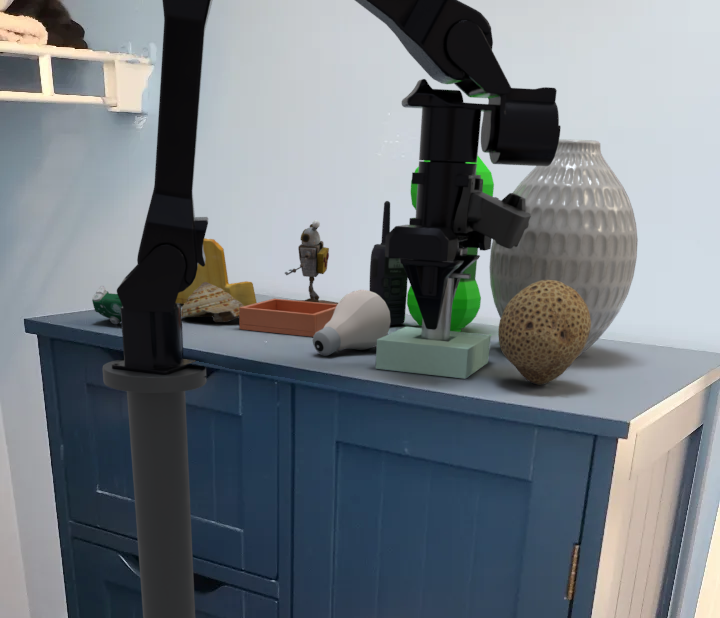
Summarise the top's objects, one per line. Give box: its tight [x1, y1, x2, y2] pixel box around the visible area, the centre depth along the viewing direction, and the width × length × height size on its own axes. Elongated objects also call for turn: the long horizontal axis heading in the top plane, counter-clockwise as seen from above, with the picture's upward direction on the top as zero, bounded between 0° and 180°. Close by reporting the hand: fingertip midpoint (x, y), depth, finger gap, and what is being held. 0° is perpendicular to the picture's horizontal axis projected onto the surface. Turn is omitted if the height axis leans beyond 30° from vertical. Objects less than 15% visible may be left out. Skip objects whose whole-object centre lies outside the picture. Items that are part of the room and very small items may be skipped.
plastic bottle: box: [406, 155, 495, 332], centre depth 118 cm, size 10×11×25 cm
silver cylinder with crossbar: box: [421, 273, 471, 342], centre depth 100 cm, size 3×6×10 cm, turn 69°
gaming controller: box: [91, 285, 122, 325], centre depth 118 cm, size 9×4×6 cm
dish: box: [238, 298, 337, 338], centre depth 121 cm, size 10×10×3 cm
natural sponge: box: [497, 280, 591, 386], centre depth 93 cm, size 9×9×10 cm
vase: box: [488, 138, 639, 357], centre depth 107 cm, size 16×16×22 cm
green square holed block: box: [375, 326, 492, 380], centre depth 102 cm, size 10×10×3 cm
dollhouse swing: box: [175, 237, 258, 306], centre depth 134 cm, size 10×10×9 cm
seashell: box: [181, 282, 244, 323], centre depth 123 cm, size 8×6×8 cm
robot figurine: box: [284, 219, 339, 304], centre depth 131 cm, size 11×9×12 cm
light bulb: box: [312, 289, 391, 357], centre depth 107 cm, size 7×7×11 cm
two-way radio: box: [369, 200, 409, 326], centre depth 123 cm, size 6×4×15 cm
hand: (435, 327), depth 100 cm, fingers closed on silver cylinder with crossbar, 3 cm apart
